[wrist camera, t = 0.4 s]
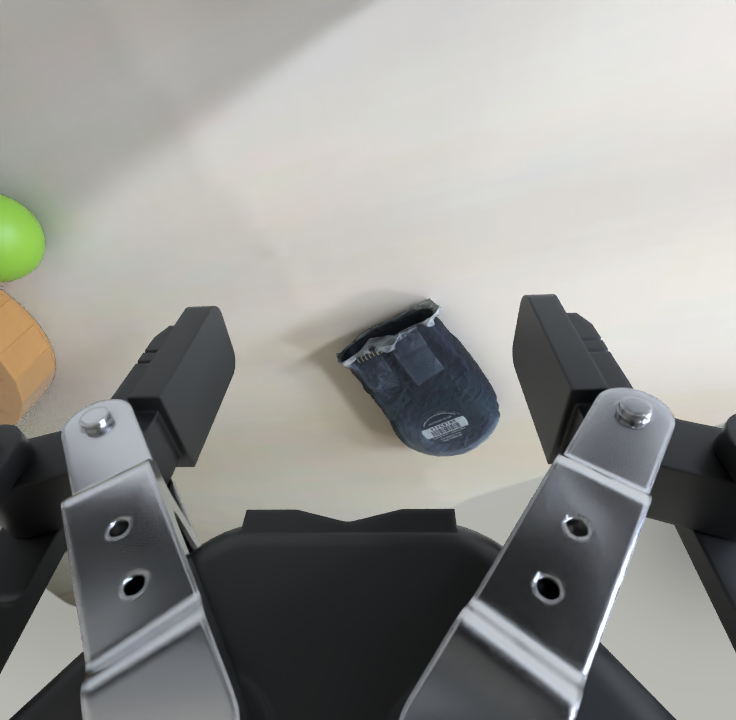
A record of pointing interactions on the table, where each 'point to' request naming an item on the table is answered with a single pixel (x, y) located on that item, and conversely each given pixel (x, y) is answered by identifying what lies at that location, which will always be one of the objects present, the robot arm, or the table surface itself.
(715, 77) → the table surface
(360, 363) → the dark blue pouch
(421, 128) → the table surface
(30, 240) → the snail figurine
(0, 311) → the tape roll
